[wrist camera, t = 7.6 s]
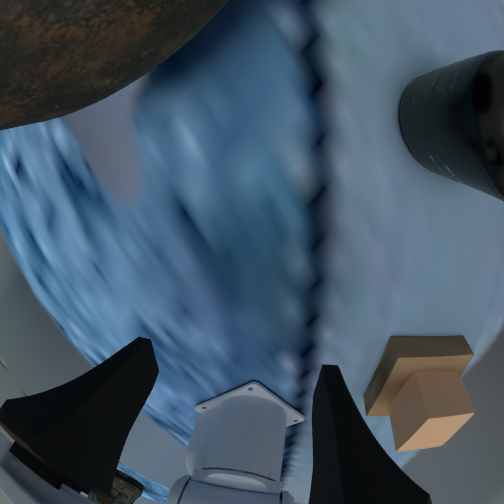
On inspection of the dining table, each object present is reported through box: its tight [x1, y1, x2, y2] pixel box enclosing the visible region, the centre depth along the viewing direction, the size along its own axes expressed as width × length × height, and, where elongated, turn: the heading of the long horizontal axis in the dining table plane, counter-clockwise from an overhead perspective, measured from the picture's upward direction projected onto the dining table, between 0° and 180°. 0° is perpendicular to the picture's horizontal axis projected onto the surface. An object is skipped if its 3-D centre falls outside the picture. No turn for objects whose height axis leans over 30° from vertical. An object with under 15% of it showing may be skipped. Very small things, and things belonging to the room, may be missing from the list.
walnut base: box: [364, 336, 474, 416], centre depth 20 cm, size 8×8×3 cm
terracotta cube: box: [388, 370, 475, 452], centre depth 16 cm, size 5×5×5 cm
